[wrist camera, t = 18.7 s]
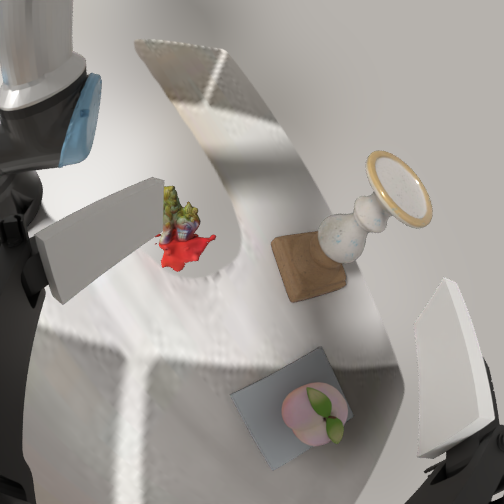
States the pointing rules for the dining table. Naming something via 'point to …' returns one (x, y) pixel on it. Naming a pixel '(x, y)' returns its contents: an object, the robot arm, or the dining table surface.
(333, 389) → the decorative fruit
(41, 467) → the dining table surface
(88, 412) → the dining table surface
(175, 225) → the figurine
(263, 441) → the mat
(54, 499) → the dining table surface
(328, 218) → the candle holder
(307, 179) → the dining table surface
